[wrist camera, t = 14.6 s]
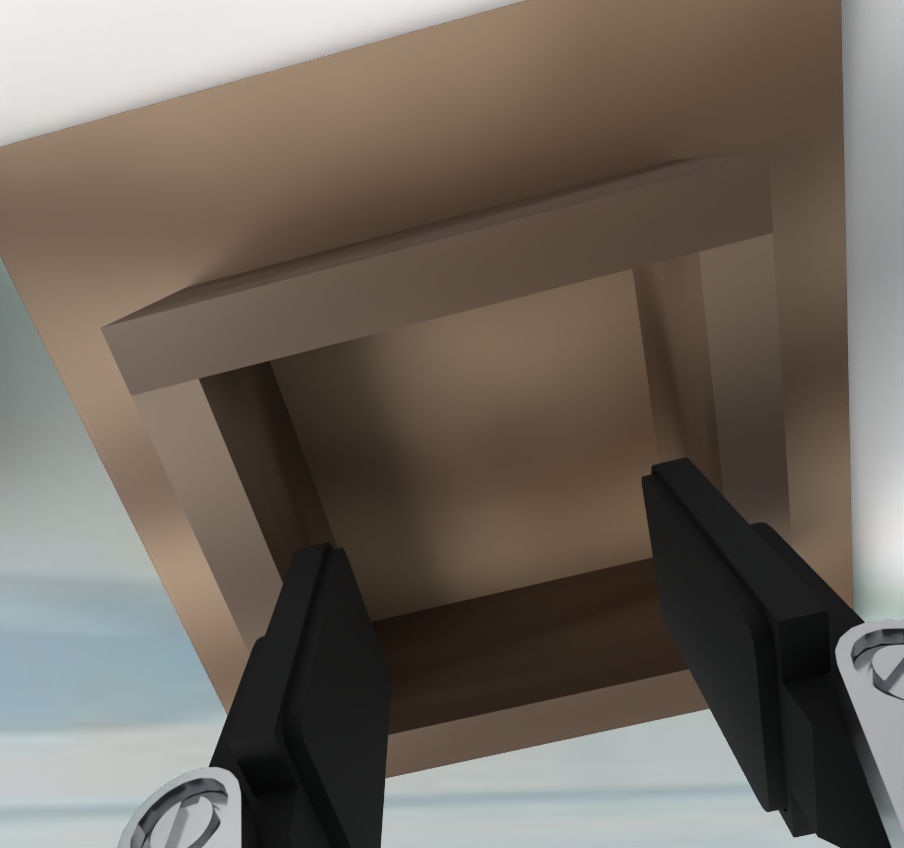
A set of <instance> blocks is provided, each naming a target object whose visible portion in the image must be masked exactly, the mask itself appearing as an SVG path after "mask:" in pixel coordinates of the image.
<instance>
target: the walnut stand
mask: <svg viewBox="0 0 904 848" xmlns="http://www.w3.org/2000/svg"><path fill="white" fill-rule="evenodd" d="M0 257H1V259H2V261H3V263H4V265H5V267H6V269H7V271H8V273H9V275H10V277H11V279H12V281H13V283H14V285H15V287H16V289H17V291H18V293H19V295H20V297H21V299H22V301H23V303H24V305H25V307H26V309H27V311H28V313H29V315H30V317H31V319H32V321H33V323H34V325H35V327H36V329H37V331H38V333H39V335H40V337H41V339H42V342H43V344H44V346H45V348H46V350H47V352H48V354H49V356H50V358H51V360H52V362H53V364H54V366H55V368H56V370H57V372H58V374H59V376H60V378H61V380H62V382H63V384H64V386H65V388H66V390H67V392H68V394H69V396H70V398H71V400H72V402H73V404H74V406H75V408H76V410H77V412H78V414H79V416H80V418H81V420H82V422H83V424H84V426H85V428H86V430H87V432H88V434H89V436H90V438H91V440H92V442H93V445H94V447H95V449H96V451H97V453H98V455H99V457H100V459H101V461H102V463H103V465H104V467H105V469H106V471H107V473H108V475H109V477H110V479H111V481H112V483H113V485H114V487H115V489H116V491H117V493H118V495H119V497H120V499H121V501H122V503H123V505H124V507H125V509H126V511H127V513H128V515H129V517H130V519H131V521H132V523H133V525H134V527H135V529H136V531H137V533H138V535H139V537H140V539H141V541H142V543H143V545H144V548H145V550H146V552H147V554H148V556H149V558H150V560H151V562H152V564H153V566H154V568H155V570H156V572H157V574H158V576H159V578H160V580H161V582H162V584H163V586H164V588H165V590H166V592H167V594H168V596H169V598H170V600H171V602H172V604H173V606H174V608H175V610H176V612H177V614H178V616H179V618H180V620H181V622H182V624H183V626H184V628H185V630H186V632H187V634H188V636H189V638H190V640H191V642H192V644H193V646H194V648H195V651H196V653H197V655H198V657H199V659H200V661H201V663H202V665H203V667H204V669H205V671H206V673H207V675H208V677H209V679H210V681H211V683H212V685H213V687H214V689H215V691H216V693H217V695H218V697H219V699H220V701H221V703H222V705H223V707H224V709H225V711H226V713H227V715H228V713H229V711H230V708H231V705H232V702H233V700H234V697H235V694H236V692H237V689H238V686H239V683H240V681H241V678H242V675H243V672H244V670H245V667H246V664H247V662H248V659H249V656H250V653H251V651H252V648H253V646H254V644H255V642H256V640H257V639H258V638H260V637H261V636H265V634H266V631H267V628H268V626H269V623H270V620H271V617H272V614H273V611H274V608H275V606H276V603H277V600H278V597H279V594H280V591H281V588H282V586H283V583H284V580H285V577H286V574H287V571H288V568H289V566H290V563H291V560H292V557H293V554H294V552H295V550H296V549H300V548H304V547H308V546H312V545H317V544H321V543H325V542H329V543H331V545H332V546H333V548H334V549H337V548H341V547H342V548H343V549H344V550H345V552H346V554H347V557H348V559H349V562H350V565H351V568H352V570H353V573H354V576H355V579H356V582H357V584H358V587H359V590H360V593H361V595H362V598H363V601H364V604H365V606H366V609H367V612H368V615H369V618H370V620H371V623H372V626H373V629H374V631H375V634H376V637H377V640H378V642H379V645H380V648H381V651H382V654H383V656H384V659H385V662H386V665H387V668H388V671H389V675H390V681H391V701H390V716H389V731H388V745H387V760H386V775H385V778H389V777H394V776H398V775H403V774H407V773H412V772H417V771H421V770H426V769H431V768H435V767H440V766H445V765H449V764H454V763H459V762H463V761H468V760H473V759H477V758H482V757H487V756H491V755H496V754H501V753H505V752H510V751H515V750H519V749H524V748H528V747H533V746H538V745H542V744H547V743H552V742H556V741H561V740H566V739H570V738H575V737H580V736H584V735H589V734H594V733H598V732H603V731H608V730H612V729H617V728H622V727H626V726H631V725H636V724H640V723H645V722H649V721H654V720H659V719H663V718H668V717H673V716H677V715H682V714H687V713H691V712H696V711H701V710H705V709H710V708H709V706H708V704H707V703H706V701H705V699H704V697H703V695H702V693H701V691H700V689H699V687H698V686H697V684H696V682H695V680H694V678H693V676H692V674H691V672H690V670H689V669H688V667H687V665H686V663H685V661H684V659H683V657H682V655H681V653H680V652H679V650H678V648H677V646H676V644H675V642H674V640H673V638H672V636H671V635H670V633H669V631H668V629H667V626H666V624H665V621H664V618H663V615H662V611H661V606H660V600H659V594H658V587H657V581H656V574H655V568H654V561H653V555H652V548H651V542H650V535H649V529H648V522H647V516H646V509H645V503H644V496H643V490H642V482H641V481H642V476H646V475H650V474H651V467H652V465H655V464H659V463H663V462H668V461H672V460H676V459H680V458H685V457H687V458H688V459H690V460H691V461H692V463H693V464H694V465H695V466H696V467H697V468H698V469H699V470H700V471H701V472H702V473H703V475H704V476H705V477H706V478H707V479H708V480H709V481H710V482H711V483H712V484H713V485H714V486H715V488H716V489H717V490H718V491H719V492H720V493H721V494H722V495H723V496H724V497H725V498H726V500H727V501H728V502H729V503H730V504H731V505H732V506H733V507H734V508H735V509H736V510H737V511H738V513H739V514H740V515H741V516H742V517H743V518H744V519H745V520H746V521H747V522H748V523H749V524H753V523H758V522H765V523H767V524H768V525H770V526H771V527H772V528H773V529H774V530H775V531H776V532H777V533H778V534H779V535H780V536H781V537H782V538H783V539H784V540H785V541H786V542H787V543H788V544H789V545H790V546H791V547H792V548H793V549H794V550H795V551H796V552H797V553H798V554H799V555H800V556H801V557H802V558H803V560H804V561H805V562H806V563H807V564H808V565H809V566H810V567H811V568H812V569H813V570H814V571H815V572H816V573H817V574H818V575H819V576H820V577H821V578H822V579H823V580H824V581H825V582H826V583H827V584H828V585H829V586H830V587H831V588H832V589H833V590H834V591H835V592H836V593H837V594H838V595H839V596H840V597H841V598H842V599H843V600H844V601H845V603H846V604H847V605H848V606H849V607H850V608H851V609H852V610H853V590H852V539H851V488H850V437H849V386H848V335H847V284H846V233H845V182H844V131H843V80H842V29H841V0H526V1H522V2H519V3H515V4H511V5H508V6H504V7H501V8H497V9H493V10H490V11H486V12H483V13H479V14H476V15H472V16H468V17H465V18H461V19H458V20H454V21H450V22H447V23H443V24H440V25H436V26H432V27H429V28H425V29H422V30H418V31H415V32H411V33H407V34H404V35H400V36H397V37H393V38H389V39H386V40H382V41H379V42H375V43H372V44H368V45H364V46H361V47H357V48H354V49H350V50H346V51H343V52H339V53H336V54H332V55H328V56H325V57H321V58H318V59H314V60H311V61H307V62H303V63H300V64H296V65H293V66H289V67H285V68H282V69H278V70H275V71H271V72H267V73H264V74H260V75H257V76H253V77H250V78H246V79H242V80H239V81H235V82H232V83H228V84H224V85H221V86H217V87H214V88H210V89H207V90H203V91H199V92H196V93H192V94H189V95H185V96H181V97H178V98H174V99H171V100H167V101H163V102H160V103H156V104H153V105H149V106H146V107H142V108H138V109H135V110H131V111H128V112H124V113H120V114H117V115H113V116H110V117H106V118H103V119H99V120H95V121H92V122H88V123H85V124H81V125H77V126H74V127H70V128H67V129H63V130H59V131H56V132H52V133H49V134H45V135H42V136H38V137H34V138H31V139H27V140H24V141H20V142H16V143H13V144H9V145H6V146H2V147H0Z"/></svg>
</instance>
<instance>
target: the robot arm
mask: <svg viewBox="0 0 904 848" xmlns="http://www.w3.org/2000/svg"><path fill="white" fill-rule="evenodd" d="M641 482H642V490H643V496H644V503H645V509H646V516H647V522H648V529H649V535H650V542H651V548H652V555H653V561H654V568H655V574H656V581H657V587H658V594H659V600H660V606H661V611H662V615H663V618H664V621H665V624H666V626H667V629H668V631H669V633H670V635H671V636H672V638H673V640H674V642H675V644H676V646H677V648H678V650H679V652H680V653H681V655H682V657H683V659H684V661H685V663H686V665H687V667H688V669H689V670H690V672H691V674H692V676H693V678H694V680H695V682H696V684H697V686H698V687H699V689H700V691H701V693H702V695H703V697H704V699H705V701H706V703H707V704H708V706H709V708H710V710H711V712H712V714H713V716H714V718H715V720H716V721H717V723H718V725H719V727H720V729H721V731H722V733H723V735H724V737H725V738H726V740H727V742H728V744H729V746H730V748H731V750H732V752H733V754H734V755H735V757H736V759H737V761H738V763H739V765H740V767H741V769H742V771H743V772H744V774H745V776H746V778H747V780H748V782H749V784H750V786H751V788H752V789H753V791H754V793H755V795H756V797H757V799H758V801H759V802H760V804H761V806H762V807H763V809H764V810H765V811H766V812H771V811H776V810H779V812H780V814H781V816H782V817H783V819H784V821H785V823H786V825H787V826H788V828H789V830H790V832H791V834H792V835H793V837H799V836H804V835H809V834H814V833H816V835H817V836H818V837H819V838H821V839H824V840H826V841H828V842H830V843H832V844H834V845H836V846H838V847H840V848H904V620H893V619H885V620H878V621H870V622H866V623H865V622H864V621H863V620H862V619H861V618H860V617H859V616H858V615H857V614H856V613H855V612H854V611H853V610H852V609H851V608H850V607H849V606H848V605H847V604H846V603H845V601H844V600H843V599H842V598H841V597H840V596H839V595H838V594H837V593H836V592H835V591H834V590H833V589H832V588H831V587H830V586H829V585H828V584H827V583H826V582H825V581H824V580H823V579H822V578H821V577H820V576H819V575H818V574H817V573H816V572H815V571H814V570H813V569H812V568H811V567H810V566H809V565H808V564H807V563H806V562H805V561H804V560H803V558H802V557H801V556H800V555H799V554H798V553H797V552H796V551H795V550H794V549H793V548H792V547H791V546H790V545H789V544H788V543H787V542H786V541H785V540H784V539H783V538H782V537H781V536H780V535H779V534H778V533H777V532H776V531H775V530H774V529H773V528H772V527H771V526H770V525H768V524H767V523H765V522H758V523H753V524H749V523H748V522H747V521H746V520H745V519H744V518H743V517H742V516H741V515H740V514H739V513H738V511H737V510H736V509H735V508H734V507H733V506H732V505H731V504H730V503H729V502H728V501H727V500H726V498H725V497H724V496H723V495H722V494H721V493H720V492H719V491H718V490H717V489H716V488H715V486H714V485H713V484H712V483H711V482H710V481H709V480H708V479H707V478H706V477H705V476H704V475H703V473H702V472H701V471H700V470H699V469H698V468H697V467H696V466H695V465H694V464H693V463H692V461H691V460H690V459H688V458H687V457H685V458H680V459H676V460H672V461H668V462H663V463H659V464H655V465H652V467H651V474H650V475H646V476H642V481H641ZM390 701H391V681H390V675H389V671H388V668H387V665H386V662H385V659H384V656H383V654H382V651H381V648H380V645H379V642H378V640H377V637H376V634H375V631H374V629H373V626H372V623H371V620H370V618H369V615H368V612H367V609H366V606H365V604H364V601H363V598H362V595H361V593H360V590H359V587H358V584H357V582H356V579H355V576H354V573H353V570H352V568H351V565H350V562H349V559H348V557H347V554H346V552H345V550H344V549H343V548H342V547H341V548H337V549H334V548H333V546H332V545H331V543H329V542H325V543H321V544H317V545H312V546H308V547H304V548H300V549H296V550H295V552H294V554H293V557H292V560H291V563H290V566H289V568H288V571H287V574H286V577H285V580H284V583H283V586H282V588H281V591H280V594H279V597H278V600H277V603H276V606H275V608H274V611H273V614H272V617H271V620H270V623H269V626H268V628H267V631H266V634H265V636H261V637H260V638H258V639H257V640H256V642H255V644H254V646H253V648H252V651H251V653H250V656H249V659H248V662H247V664H246V667H245V670H244V672H243V675H242V678H241V681H240V683H239V686H238V689H237V692H236V694H235V697H234V700H233V702H232V705H231V708H230V711H229V713H228V716H227V719H226V722H225V724H224V727H223V730H222V732H221V735H220V738H219V741H218V743H217V746H216V749H215V752H214V754H213V757H212V760H211V762H210V765H209V767H207V768H200V769H196V770H193V771H190V772H187V773H184V774H182V775H180V776H179V777H177V778H175V779H173V780H171V781H170V782H168V783H166V784H165V785H164V786H162V787H161V788H160V789H159V790H157V791H156V792H155V793H153V794H152V795H151V796H150V797H149V798H148V799H147V800H146V801H145V802H144V803H143V804H142V805H141V806H140V807H139V809H138V810H137V811H136V812H135V813H134V814H133V816H132V817H131V819H130V821H129V822H128V824H127V825H126V827H125V829H124V830H123V832H122V835H121V838H120V840H119V843H118V846H117V848H381V833H382V819H383V804H384V789H385V775H386V760H387V745H388V731H389V716H390Z"/></svg>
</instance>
